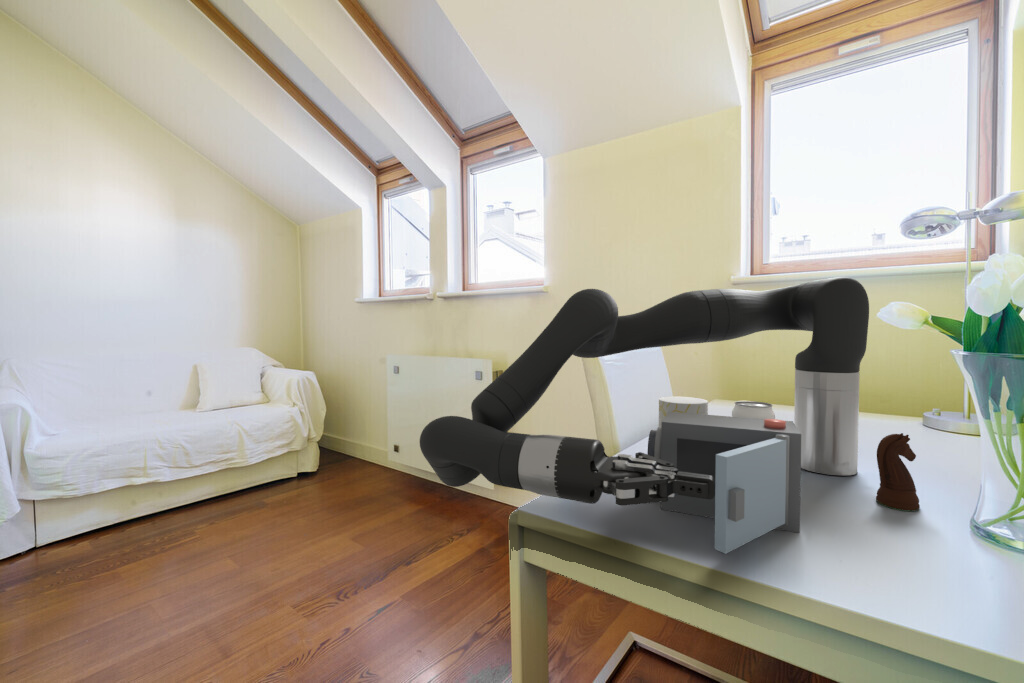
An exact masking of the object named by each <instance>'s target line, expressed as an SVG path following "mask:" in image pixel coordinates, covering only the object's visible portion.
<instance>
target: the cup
mask: <svg viewBox="0 0 1024 683" xmlns="http://www.w3.org/2000/svg"><path fill="white" fill-rule="evenodd" d="M668 412H678V413H691V414H704V415H709V400H706V399H704V398H699V397H693V396H692V397H691V396H678V395H677V396H676V395H675V396H662V397H659V398H658V427H662V420H663V419H664V418H665V416H666V415H667V413H668Z"/></svg>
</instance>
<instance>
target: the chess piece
mask: <svg viewBox="0 0 1024 683" xmlns="http://www.w3.org/2000/svg"><path fill="white" fill-rule="evenodd" d="M909 441H911V438H910V437H909V434H906V435H904V433H902V432H901V433H891V434H888V435H885V436H884V437H883V438H881V440H880V441H879V442H878V445H877V449H876V461H877V468H878V472H879V481H880V483H879V487H878V489H877V490H876V491H877V492H876V496H875V500H876V502H877V504H879V505H881V506H883V507H887V508H889V509H892V510H896V511H904V512H917V511H919V510H920V508H921V507H920V506H921V505H920V504H919V503H920V499H919V496H918V495H917V488H916V484H915V481H914V480H913V477H912V474H911V473H910V471H909V469H908V468H907V466H906V464H905V463H904V462H903V460H902V458H901V457H903V458H905V459H907V461H909V462H913V461H915V459H916V457H917V454H915V452H914V451H913V450H912V448H911V446H910V444H909V443H908V442H909Z"/></svg>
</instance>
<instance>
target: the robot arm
mask: <svg viewBox="0 0 1024 683" xmlns="http://www.w3.org/2000/svg"><path fill="white" fill-rule="evenodd" d="M869 300H870V299H869V296H868V293H867V291H866V289H865V287H864V286H863V284H862V283H861V282H859V281H858V280H856V279H855V278H852V277H848V276H838V277H837V276H836V277H828V278H822V279H816V280H810V281H806V282H802V283H798V284H794V285H789V286H785V287H779V288H774V289H773V288H772V289H766V290H750V289H749V290H747V289H739V288H714V289H713V288H711V289H701V290H699V289H698V290H692V291H686V292H682V293H679V294H677V295H674V296H672V297H669V298H668V299H665V300H664V301H661V302H660V303H657V304H655V305H653V306H651V307H648V308H647V309H644V310H642V311H639V312H636V313H631V314H626V315H619V307H618V304H617V301H616V299H615V298H613V296H612V295H610V293H608V292H605V291H604V290H601V289H597V288H587V289H581V290H580V291H577V292H575V293H573V294H572V295H571V296H570V297H569V298H568V299H567V301H565V303H564V305H563V306H562V307H561V308H560V309H559V310H558V312H557V313H556V314H555V316H554V317H553V318H552V319H551V321H550V322H549V324H548V325H546V327H545V328H544V329H543V331H541V333H540V334H539V335H538V336H537V337H536V338H535V340H534V341H533V342H532V343H531V344H530V345H529V346H528V347H527V349H526V350H525V351H524V352H523V353H522V354H521V355H520V356H519V357H517V359H515V361H514V362H512V363H511V364H510V366H508V367H507V368H506V369H505V370H504V371H503V372H502V373H501V374H500V375H498V376H497V377H496V378H495V379H494V380H493V381H492V382H491V383H489V385H487V386H486V387H485V388H484V389H483V390H481V392H479V393H478V394H477V396H475V398H474V399H473V400H472V402H471V406H470V409H471V417H472V418H471V419H470V418H467V417H463V416H459V415H458V416H457V415H447V416H440V417H437V418H436V419H433V420H431V421H430V422H429V423H428V424H427V425H425V426H424V428H423V430H422V431H421V432H420V436H419V447H420V450H421V454H422V455H423V457H424V458H425V460H426V461H427V462H428V464H429V465H430V467H431V468H432V470H433V471H434V473H435V474H436V476H437V477H438V478H439V480H440V481H441V482H442V483H443V484H444V485H446V486H448V487H452V488H453V487H454V488H457V487H463V486H466V485H467V484H470V483H471V482H472V481H474V480H475V479H477V478H478V477H479V476H480V475H482V476H483V477H484V478H485V479H486V480H487V481H488V482H489V483H491V484H493V485H496V486H501V487H504V488H512V489H517V490H522V491H527V492H532V493H534V494H537V495H540V496H545V497H550V498H555V499H557V498H558V499H561V500H562V499H564V500H568V501H569V500H570V501H574V502H579V503H586V504H596V503H597V502H599V500H600V499H601V497H602V494H607V495H612V496H613V497H615V504H616V505H617V506H621V507H625V506H635V505H636V506H637V505H645V504H655V503H661V502H667V501H668V497H675V496H676V493H677V495H682V496H689V497H696V498H702V499H709V500H711V499H713V498H714V487H715V480H714V477H713V476H711V475H704V474H696V473H689V472H681V471H679V472H678V469H677V468H674V464H672V463H670V462H667V461H664V460H661V459H658V458H656V457H653V456H650V455H648V453H644V452H640V451H639V452H636V453H635V457H634V456H633V455H631V454H625V453H624V454H623V453H620V454H617V456H612V455H611V456H609V455H607V453H606V452H605V447H604V444H603V443H602V441H601V440H599V439H594V438H586V437H585V438H584V437H574V436H564V435H555V434H530V433H529V434H528V433H519V432H512V431H510V432H509V430H511V429H512V428H513V427H514V426H515V425H516V424H517V423H518V422H519V421H520V420H521V419H522V418H523V417H524V416H525V415H526V414H528V412H529V411H531V409H532V408H533V407H534V406H535V405H536V404H537V402H538V401H539V400H540V399H541V398H542V396H543V395H544V393H545V392H547V390H548V388H549V386H550V385H551V384H552V382H553V380H554V379H555V377H556V376H557V375H558V373H559V372H560V370H561V369H562V368H563V366H564V365H565V363H567V362H568V361H569V359H570V358H571V357H572V356H575V357H577V358H583V359H595V358H602V357H608V356H612V355H616V354H620V353H626V352H632V351H637V350H643V349H651V348H661V347H669V346H679V345H688V344H689V345H691V344H693V345H694V344H704V343H705V344H707V343H715V342H725V341H729V340H734V339H735V340H736V339H739V338H742V337H746V336H750V335H752V334H755V333H759V332H763V331H805V332H812V334H811V335H812V337H811V340H810V341H811V342H810V343H809V345H808V346H807V347H806V348H805V349H804V350H802V351H800V352H797V354H796V355H795V359H794V409H793V410H794V411H793V412H794V414H793V415H794V416H793V417H794V420H793V423H794V424H795V426H796V427H797V428H798V430H799V431H800V433H801V470H805V471H809V472H813V473H818V474H823V475H829V476H830V475H831V476H853V475H856V474H858V467H859V466H858V465H859V464H858V460H859V459H858V458H859V457H858V456H859V454H858V453H859V428H860V427H859V426H860V422H859V420H860V418H859V417H860V416H859V415H860V368H861V367H860V366H861V362H862V361H863V358H864V356H865V354H866V351H867V343H868V342H867V341H868V332H869V331H868V330H869V322H870V321H869V320H870V301H869Z"/></svg>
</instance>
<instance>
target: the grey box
mask: <svg viewBox="0 0 1024 683" xmlns="http://www.w3.org/2000/svg"><path fill="white" fill-rule="evenodd" d="M777 434H782V435H788V436H789V494H788V525H787V526H782V525H781V526H779V527H777V528H775V529H776V530H781V531H787V532H792V533H793V532H794V533H799V534H801V533H800V532H801V485H802V483H801V482H802V480H801V477H802V476H801V474H802V472H801V471H802V468H801V433H800V431H799V430H798V428H797V427H796V426H795V424H794V420H793V421H791V420H783V419H778V418H775V419H756V418H743V417H732V416H729V415H715V414H708V415H704V414H691V413H678V412H668V413H667V415H666V416H665V418H664V419H663V420H662V427H659V426H658V427H657V429H651V430H650V431H649V435H648V442H647V455H650V456H653V457H656V458H658V459H661V460H664V461H667V462H670V463H672V464H674V468H677V469H678V472H679V471H681V472H689V473H696V474H704V475H711V476H713V477H714V480H715V476H716V454H719V453H723V452H726V451H730V450H734V449H737V448H741V447H744V446H748V445H751V444H755V443H758V442H762V441H766V440H769V439H773V438H776V435H777ZM660 510H663V511H668V512H676V513H681V514H688V515H693V516H698V517H705V518H711V519H715V487H714V498H713V499H711V500H709V499H702V498H696V497H689V496H682V495H677V493H676V496H675V497H668V501H667V502H660ZM775 529H774V530H775Z"/></svg>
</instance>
